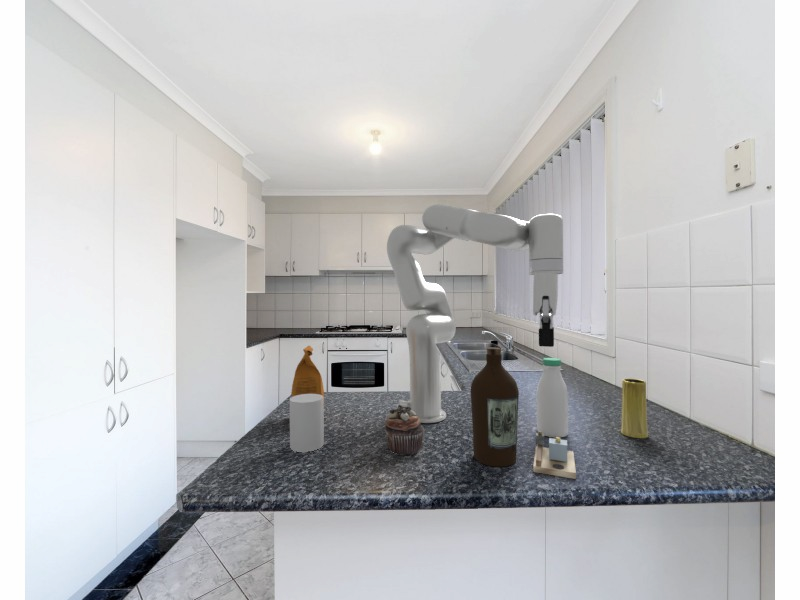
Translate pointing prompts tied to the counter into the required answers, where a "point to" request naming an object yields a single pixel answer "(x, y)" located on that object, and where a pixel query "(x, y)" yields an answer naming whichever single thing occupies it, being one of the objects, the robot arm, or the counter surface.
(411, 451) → the cupcake
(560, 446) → the blue block with knob
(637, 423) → the vase
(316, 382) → the coffee package
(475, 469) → the counter surface
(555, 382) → the milk bottle
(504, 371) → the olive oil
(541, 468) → the board
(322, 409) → the cup
